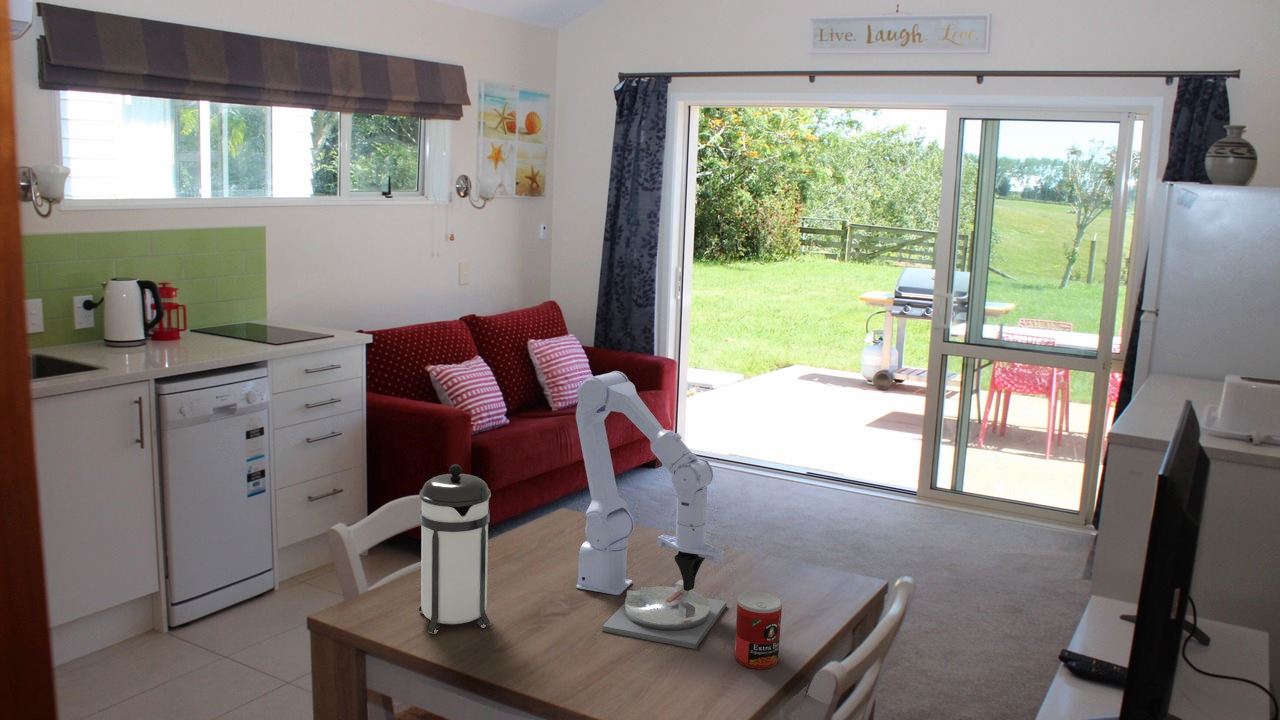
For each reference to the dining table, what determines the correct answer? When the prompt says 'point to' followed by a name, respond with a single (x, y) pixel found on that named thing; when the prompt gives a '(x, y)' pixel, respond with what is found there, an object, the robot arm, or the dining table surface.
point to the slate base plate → (675, 637)
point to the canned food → (758, 630)
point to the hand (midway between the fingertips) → (688, 589)
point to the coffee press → (454, 549)
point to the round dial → (666, 607)
